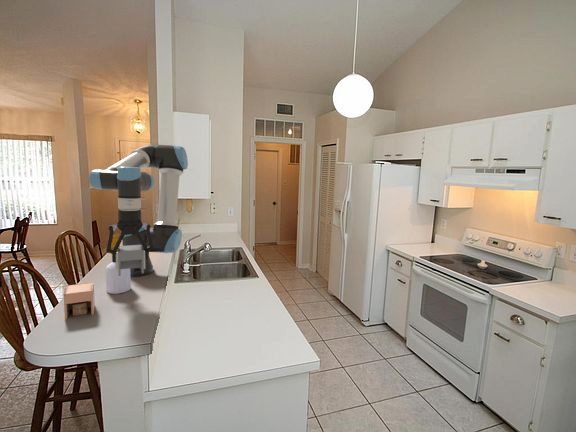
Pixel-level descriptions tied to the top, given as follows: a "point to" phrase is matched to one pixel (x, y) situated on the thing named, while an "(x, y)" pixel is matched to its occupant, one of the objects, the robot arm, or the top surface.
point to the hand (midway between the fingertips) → (130, 269)
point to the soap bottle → (117, 275)
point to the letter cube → (80, 308)
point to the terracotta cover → (78, 296)
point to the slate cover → (130, 257)
